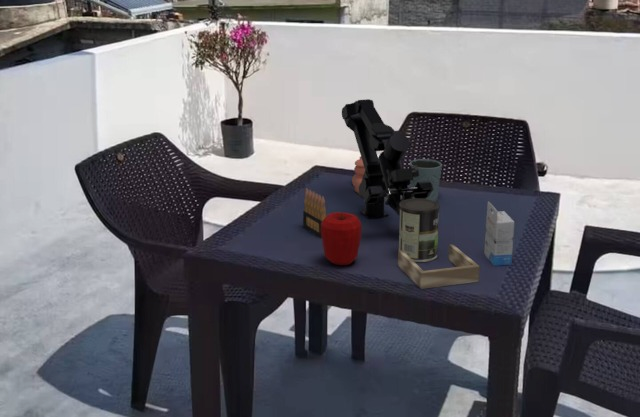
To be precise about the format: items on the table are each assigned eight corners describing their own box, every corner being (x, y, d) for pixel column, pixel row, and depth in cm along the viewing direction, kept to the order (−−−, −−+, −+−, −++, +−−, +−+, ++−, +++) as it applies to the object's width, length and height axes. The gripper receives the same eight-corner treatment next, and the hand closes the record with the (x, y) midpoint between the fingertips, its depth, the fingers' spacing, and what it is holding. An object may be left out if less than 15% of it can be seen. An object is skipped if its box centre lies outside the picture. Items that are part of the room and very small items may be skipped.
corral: (397, 265, 200) (398, 250, 199) (452, 258, 204) (452, 244, 203) (421, 289, 187) (421, 273, 185) (478, 281, 191) (479, 266, 189)
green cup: (418, 192, 258) (419, 157, 254) (446, 198, 252) (447, 162, 248) (402, 200, 250) (403, 164, 246) (431, 206, 244) (432, 169, 240)
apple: (314, 257, 205) (314, 208, 201) (350, 252, 209) (351, 203, 205) (330, 272, 196) (330, 221, 192) (367, 266, 200) (368, 215, 195)
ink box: (512, 265, 200) (516, 210, 195) (493, 266, 199) (496, 211, 195) (501, 253, 208) (505, 199, 203) (483, 253, 207) (487, 200, 203)
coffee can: (438, 249, 211) (440, 198, 206) (436, 263, 201) (439, 211, 197) (399, 246, 213) (401, 196, 208) (396, 261, 203) (397, 209, 198)
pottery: (392, 196, 255) (393, 167, 252) (365, 199, 252) (365, 169, 249) (371, 181, 271) (371, 153, 268) (345, 183, 268) (345, 155, 265)
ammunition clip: (327, 237, 220) (327, 196, 216) (321, 238, 219) (321, 197, 215) (308, 226, 228) (308, 186, 224) (303, 227, 227) (302, 187, 224)
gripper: (367, 158, 210) (381, 210, 203) (432, 152, 215) (447, 203, 208) (357, 178, 220) (370, 228, 213) (419, 172, 224) (434, 221, 218)
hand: (405, 220), depth 213 cm, fingers closed
